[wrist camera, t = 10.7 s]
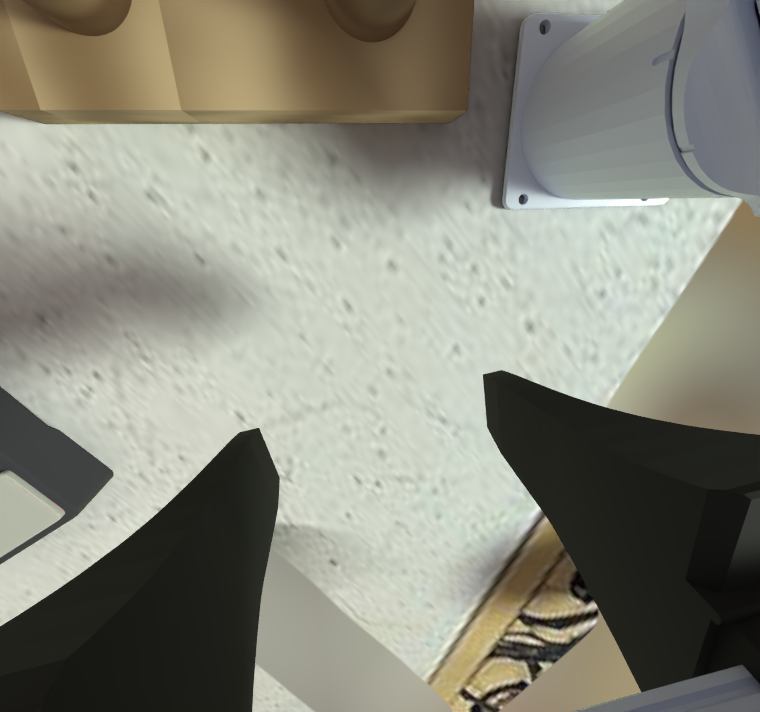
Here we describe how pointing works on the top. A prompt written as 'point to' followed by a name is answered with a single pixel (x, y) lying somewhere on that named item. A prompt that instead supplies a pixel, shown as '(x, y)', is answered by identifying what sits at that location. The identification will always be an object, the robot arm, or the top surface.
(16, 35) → the wooden peg board
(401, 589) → the top surface
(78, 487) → the calculator
